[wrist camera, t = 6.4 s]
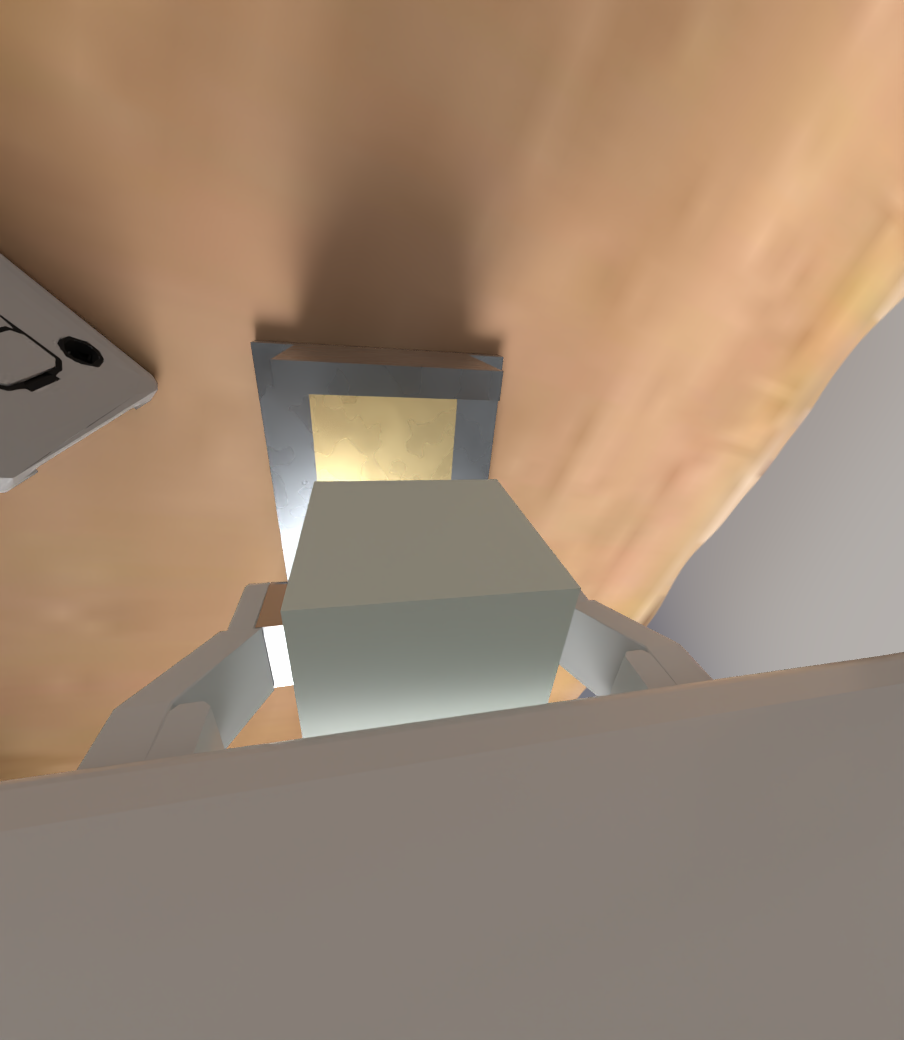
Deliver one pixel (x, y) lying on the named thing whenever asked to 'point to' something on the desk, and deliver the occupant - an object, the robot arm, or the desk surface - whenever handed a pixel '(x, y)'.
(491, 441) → the press
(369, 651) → the block
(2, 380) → the electrical switch
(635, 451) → the desk surface
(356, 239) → the desk surface
